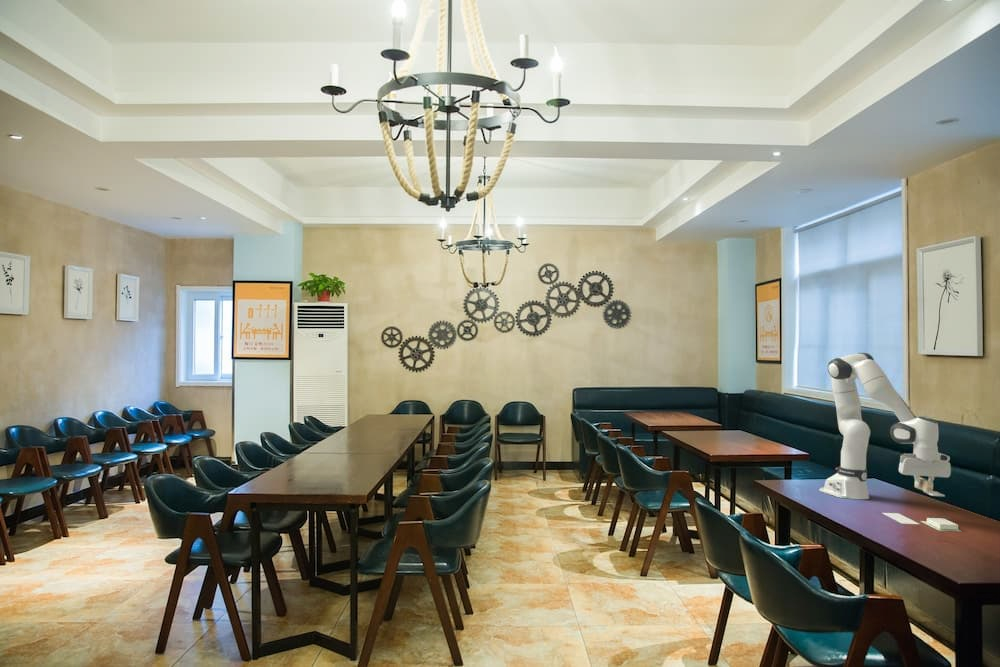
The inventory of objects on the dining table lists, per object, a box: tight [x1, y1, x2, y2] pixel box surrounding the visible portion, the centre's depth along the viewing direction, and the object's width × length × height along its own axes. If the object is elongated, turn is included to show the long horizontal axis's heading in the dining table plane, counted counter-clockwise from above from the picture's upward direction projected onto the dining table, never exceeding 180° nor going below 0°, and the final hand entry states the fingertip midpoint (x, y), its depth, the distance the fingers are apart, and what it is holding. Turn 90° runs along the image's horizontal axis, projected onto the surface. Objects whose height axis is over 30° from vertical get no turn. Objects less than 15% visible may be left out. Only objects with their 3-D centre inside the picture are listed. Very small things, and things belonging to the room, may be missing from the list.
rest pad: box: [882, 512, 921, 525], centre depth 270 cm, size 16×7×1 cm, turn 176°
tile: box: [926, 517, 959, 530], centre depth 259 cm, size 2×7×9 cm
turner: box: [914, 476, 946, 497], centre depth 270 cm, size 15×5×4 cm, turn 176°
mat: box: [920, 520, 961, 532], centre depth 260 cm, size 13×9×1 cm
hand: (923, 485), depth 273 cm, fingers closed on turner, 2 cm apart
